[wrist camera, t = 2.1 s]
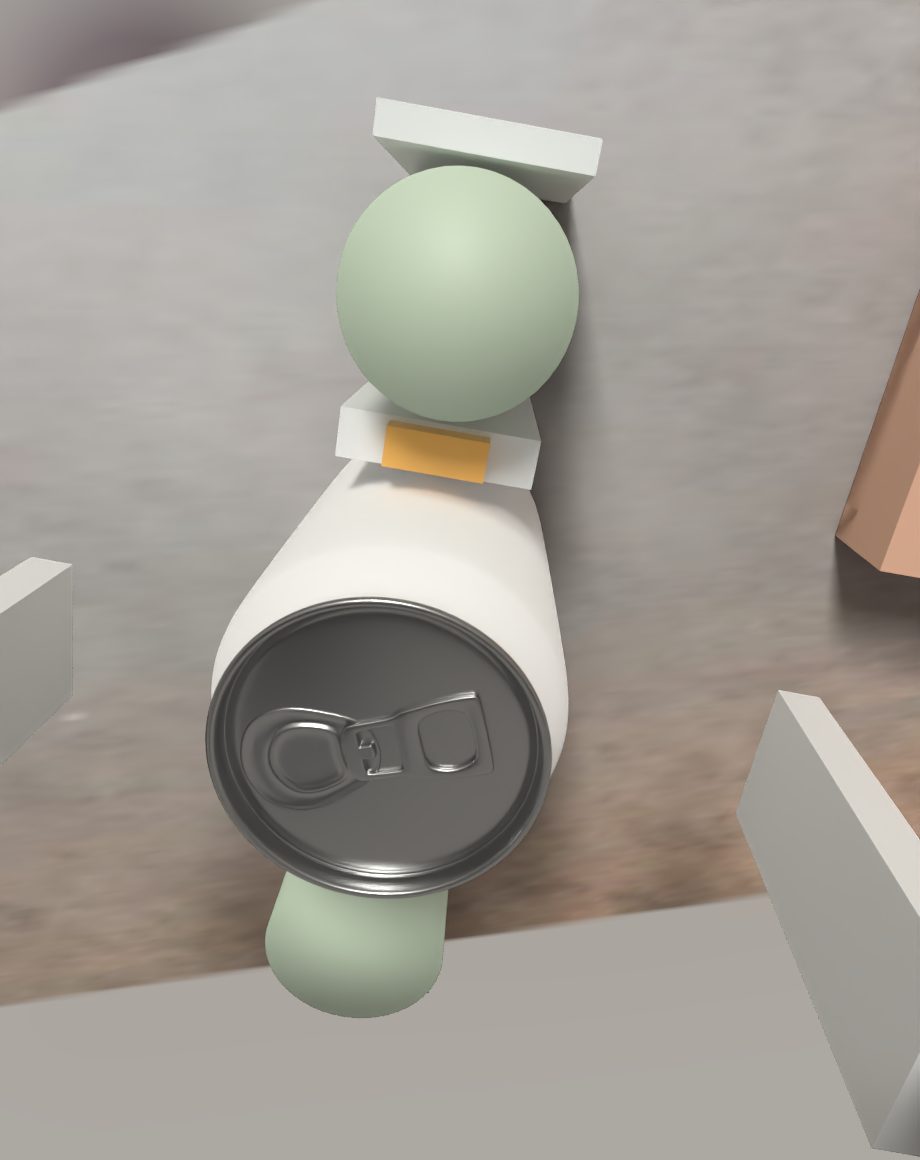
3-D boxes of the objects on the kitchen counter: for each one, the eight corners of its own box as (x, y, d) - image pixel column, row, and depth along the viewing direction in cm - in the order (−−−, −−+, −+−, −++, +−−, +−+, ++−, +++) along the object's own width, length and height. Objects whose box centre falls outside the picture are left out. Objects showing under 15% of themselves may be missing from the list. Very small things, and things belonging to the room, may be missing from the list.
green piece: (387, 351, 23) (323, 400, 14) (408, 192, 21) (351, 144, 13) (531, 376, 23) (551, 440, 15) (561, 220, 22) (603, 189, 13)
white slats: (326, 805, 28) (269, 987, 21) (413, 149, 21) (372, 90, 14) (443, 824, 28) (426, 1012, 21) (569, 177, 21) (607, 133, 14)
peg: (330, 779, 28) (258, 1002, 19) (344, 673, 26) (272, 864, 18) (448, 799, 28) (428, 1030, 19) (469, 694, 26) (456, 894, 18)
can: (297, 448, 24) (122, 610, 13) (521, 406, 23) (544, 536, 12) (350, 650, 26) (241, 941, 15) (557, 617, 25) (605, 895, 14)
